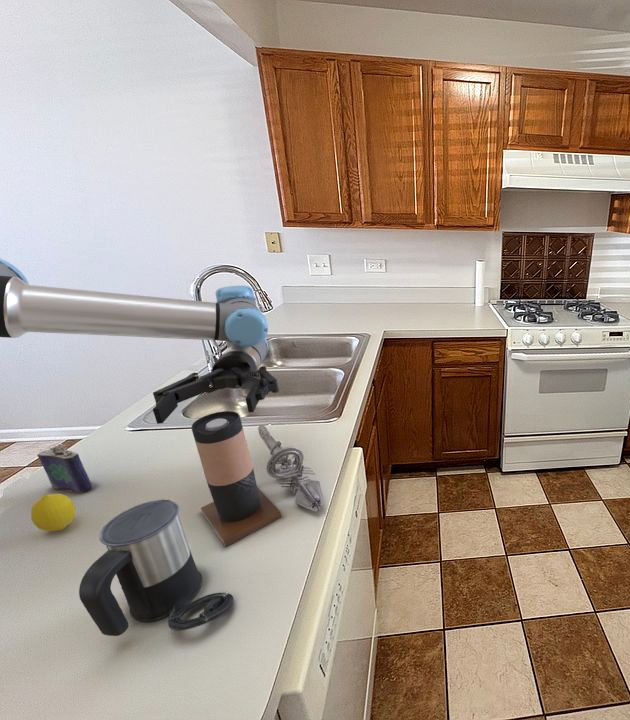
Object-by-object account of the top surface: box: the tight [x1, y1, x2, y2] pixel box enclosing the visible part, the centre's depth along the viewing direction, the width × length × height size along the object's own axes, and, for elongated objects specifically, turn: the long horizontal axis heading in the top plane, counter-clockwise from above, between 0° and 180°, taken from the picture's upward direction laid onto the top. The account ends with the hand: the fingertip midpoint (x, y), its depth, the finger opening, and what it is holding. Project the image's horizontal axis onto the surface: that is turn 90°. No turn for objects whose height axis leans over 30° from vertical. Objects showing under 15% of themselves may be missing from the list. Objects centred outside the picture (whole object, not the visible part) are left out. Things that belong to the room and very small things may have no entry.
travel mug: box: [191, 410, 260, 522], centre depth 75 cm, size 8×8×20 cm
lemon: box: [30, 493, 77, 532], centre depth 74 cm, size 6×6×8 cm
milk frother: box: [78, 499, 235, 637], centre depth 59 cm, size 14×16×15 cm
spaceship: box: [257, 424, 324, 512], centre depth 89 cm, size 8×35×8 cm
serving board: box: [200, 486, 282, 548], centre depth 79 cm, size 13×10×2 cm
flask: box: [36, 443, 94, 494], centre depth 85 cm, size 9×3×11 cm, turn 79°
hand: (204, 410), depth 67 cm, fingers open, 13 cm apart
